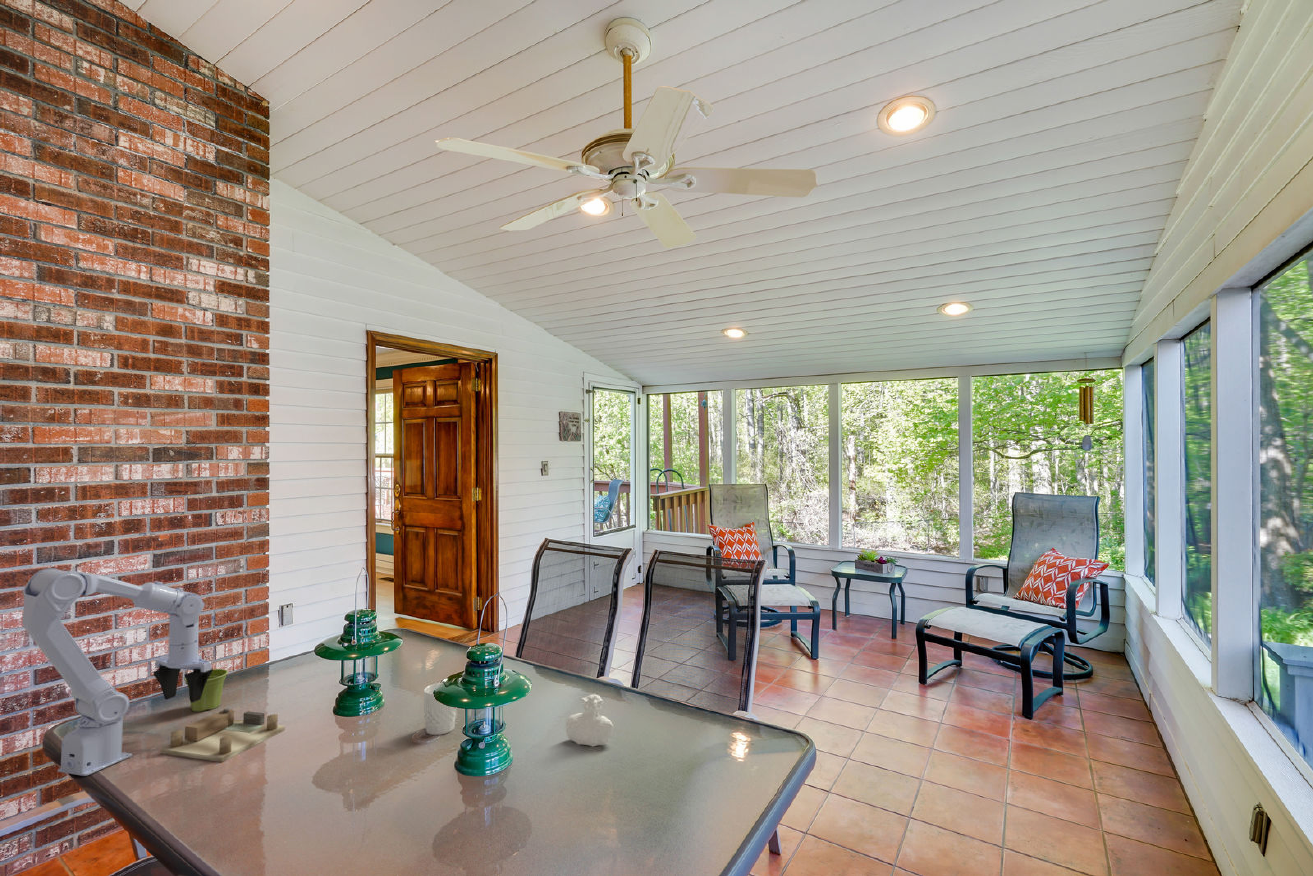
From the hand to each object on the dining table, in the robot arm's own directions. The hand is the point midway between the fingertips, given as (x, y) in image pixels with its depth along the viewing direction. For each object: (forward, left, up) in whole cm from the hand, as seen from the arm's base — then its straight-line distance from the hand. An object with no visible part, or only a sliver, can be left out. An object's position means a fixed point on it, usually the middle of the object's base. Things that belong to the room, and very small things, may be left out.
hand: (182, 699), depth 150 cm
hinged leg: (+1, -7, -7) cm, 10 cm away
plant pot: (+15, +10, -9) cm, 20 cm away
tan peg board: (0, -13, -9) cm, 16 cm away
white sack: (+21, -96, -9) cm, 99 cm away
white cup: (+18, -58, -9) cm, 61 cm away
